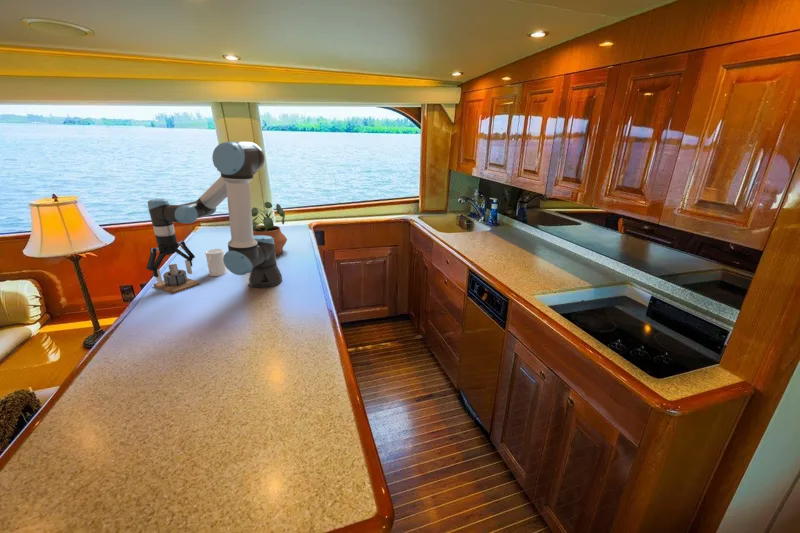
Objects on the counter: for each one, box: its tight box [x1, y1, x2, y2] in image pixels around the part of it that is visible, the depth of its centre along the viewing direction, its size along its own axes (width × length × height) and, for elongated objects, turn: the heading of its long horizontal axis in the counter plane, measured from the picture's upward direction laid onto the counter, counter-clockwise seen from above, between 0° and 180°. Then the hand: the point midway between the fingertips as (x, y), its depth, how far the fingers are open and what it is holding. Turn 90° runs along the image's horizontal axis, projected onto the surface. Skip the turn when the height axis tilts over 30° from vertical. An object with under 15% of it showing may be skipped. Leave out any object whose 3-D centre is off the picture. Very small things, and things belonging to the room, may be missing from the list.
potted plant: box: [251, 201, 288, 256], centre depth 198 cm, size 23×28×30 cm
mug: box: [204, 248, 229, 277], centre depth 169 cm, size 12×8×12 cm
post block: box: [153, 263, 201, 294], centre depth 156 cm, size 16×12×10 cm
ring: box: [162, 269, 188, 287], centre depth 156 cm, size 8×8×5 cm
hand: (175, 278), depth 156 cm, fingers open, 13 cm apart
